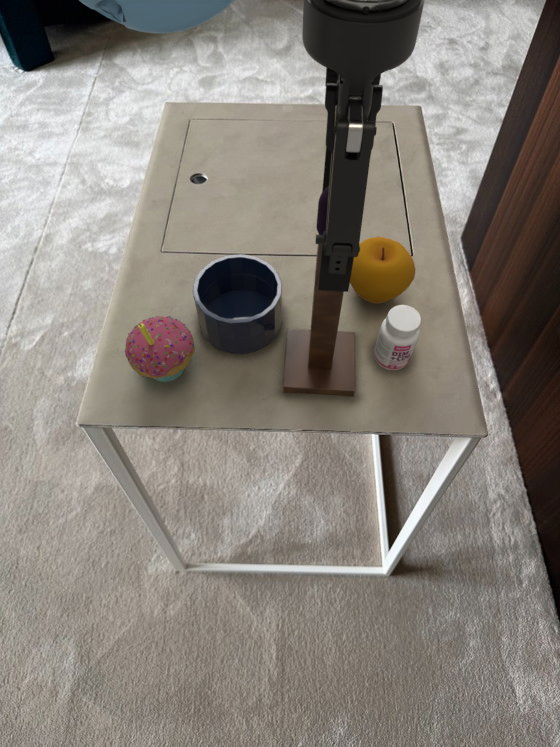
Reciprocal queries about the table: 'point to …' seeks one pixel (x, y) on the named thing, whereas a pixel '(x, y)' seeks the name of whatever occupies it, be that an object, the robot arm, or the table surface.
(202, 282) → the pot
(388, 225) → the table surface
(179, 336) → the cupcake
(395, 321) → the pill bottle
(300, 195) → the table surface
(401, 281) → the apple
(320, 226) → the purple plum
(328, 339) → the stand
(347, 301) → the table surface
